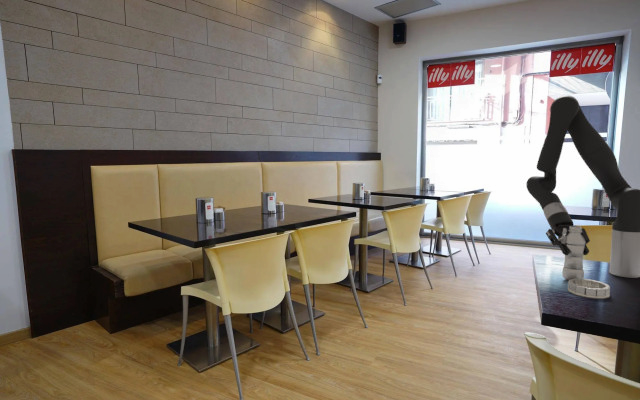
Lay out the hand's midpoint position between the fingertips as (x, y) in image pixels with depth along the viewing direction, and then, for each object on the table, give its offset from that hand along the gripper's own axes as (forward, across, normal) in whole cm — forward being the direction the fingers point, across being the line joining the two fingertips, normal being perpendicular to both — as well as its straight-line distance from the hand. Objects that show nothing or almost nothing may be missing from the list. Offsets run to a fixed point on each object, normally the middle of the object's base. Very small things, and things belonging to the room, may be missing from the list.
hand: (577, 254), depth 135 cm
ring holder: (+15, -3, 0) cm, 15 cm away
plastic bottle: (+6, 0, +9) cm, 11 cm away
